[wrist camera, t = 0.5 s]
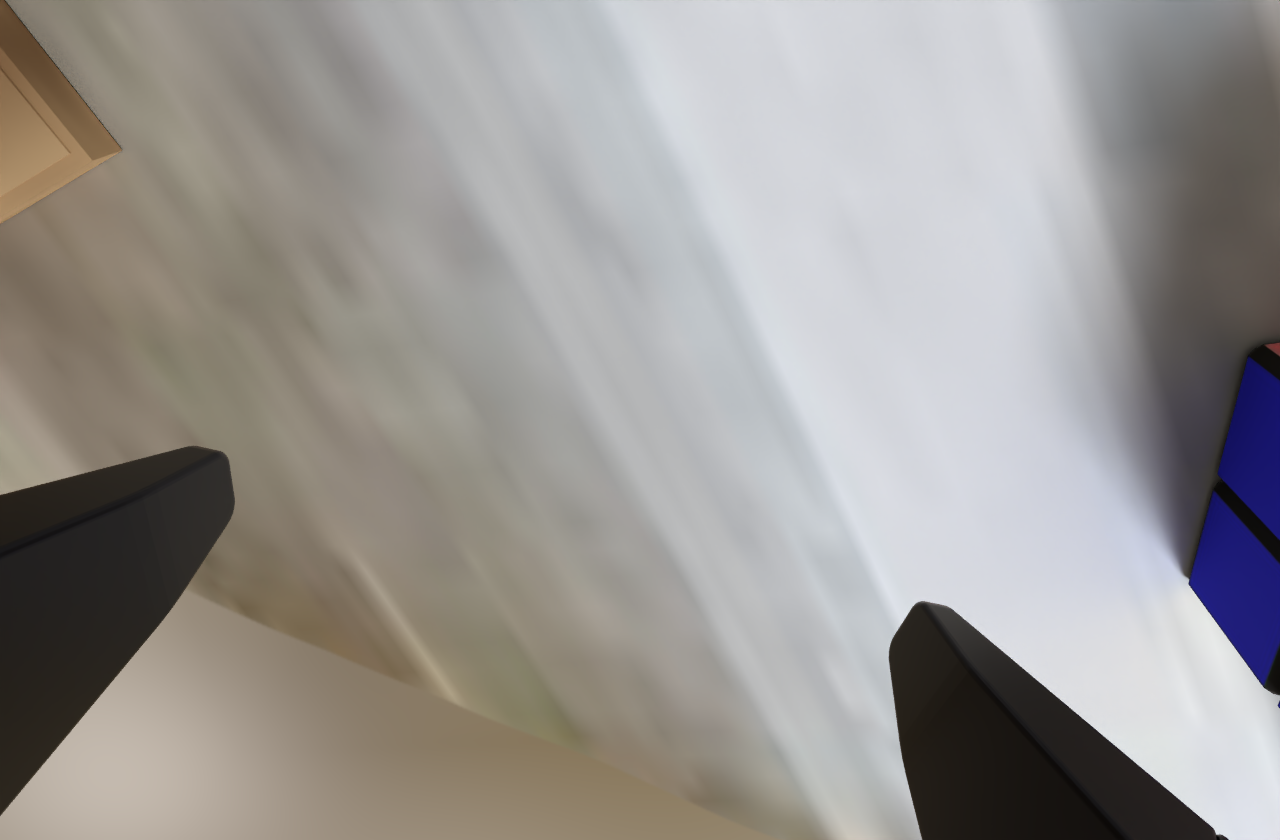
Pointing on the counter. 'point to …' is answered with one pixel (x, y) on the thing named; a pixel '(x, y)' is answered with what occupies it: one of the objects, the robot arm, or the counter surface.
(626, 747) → the counter surface
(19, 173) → the oak board
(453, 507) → the counter surface
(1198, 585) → the puzzle cube
